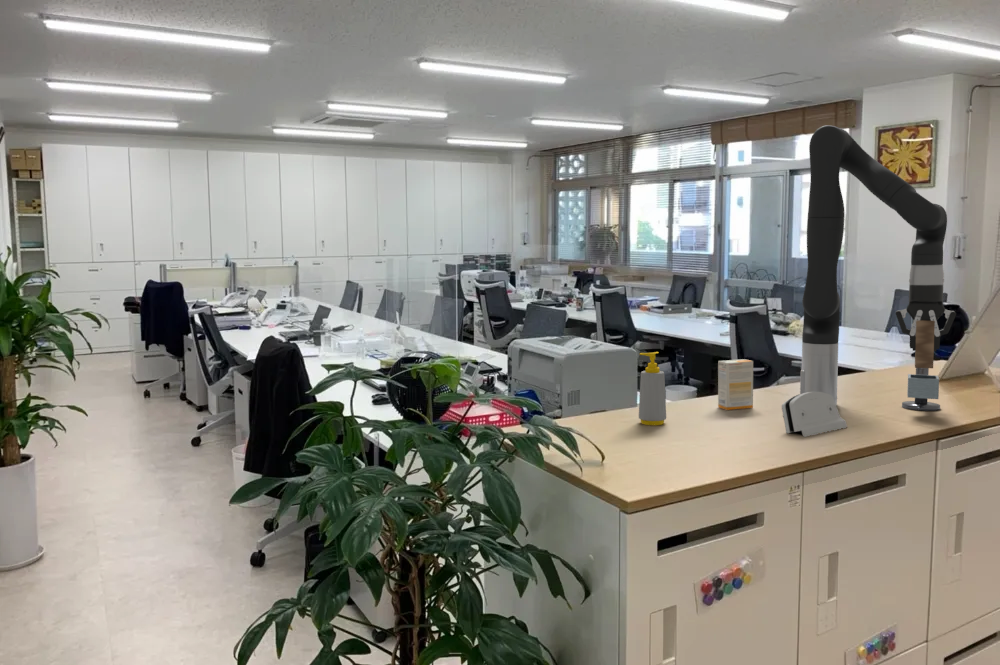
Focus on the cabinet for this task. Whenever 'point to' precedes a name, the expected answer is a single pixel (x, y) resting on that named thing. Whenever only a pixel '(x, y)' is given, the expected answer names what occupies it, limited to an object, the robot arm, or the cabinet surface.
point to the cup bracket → (922, 391)
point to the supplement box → (735, 384)
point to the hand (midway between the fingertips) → (924, 350)
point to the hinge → (811, 414)
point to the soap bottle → (652, 394)
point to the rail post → (924, 344)
